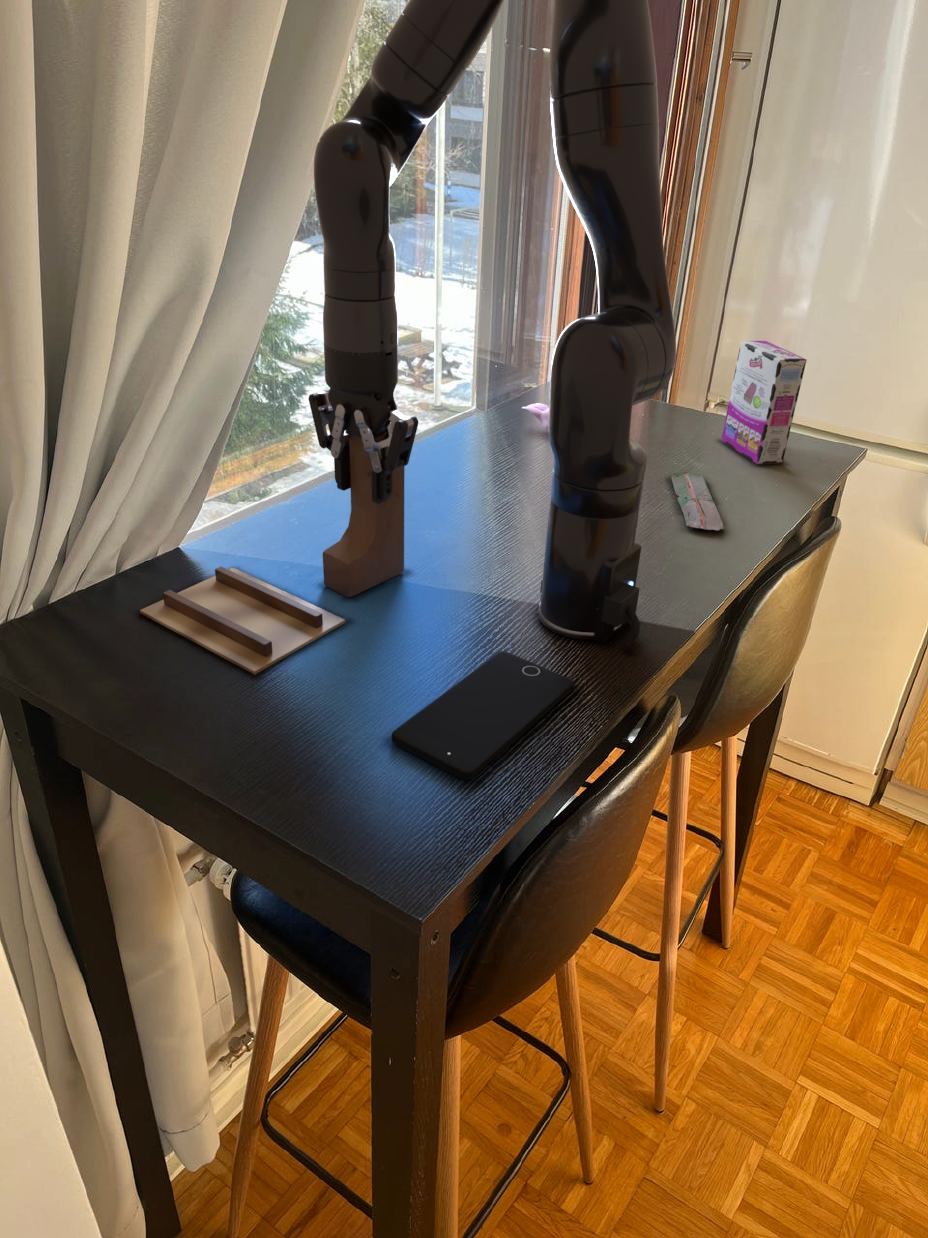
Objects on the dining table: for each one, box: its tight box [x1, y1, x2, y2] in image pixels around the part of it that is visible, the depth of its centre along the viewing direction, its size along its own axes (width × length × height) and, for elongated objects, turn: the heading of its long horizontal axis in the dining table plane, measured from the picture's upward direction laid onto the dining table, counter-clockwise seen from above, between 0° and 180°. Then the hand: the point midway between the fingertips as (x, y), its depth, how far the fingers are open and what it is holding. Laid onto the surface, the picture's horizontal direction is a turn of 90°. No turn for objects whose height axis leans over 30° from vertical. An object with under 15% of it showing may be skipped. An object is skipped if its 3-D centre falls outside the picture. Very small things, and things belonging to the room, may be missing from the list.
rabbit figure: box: [521, 402, 549, 433], centre depth 153 cm, size 6×6×15 cm
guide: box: [139, 565, 346, 675], centre depth 102 cm, size 18×13×2 cm
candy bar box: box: [721, 340, 807, 466], centre depth 147 cm, size 11×5×16 cm, turn 17°
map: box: [670, 472, 724, 531], centre depth 133 cm, size 5×20×1 cm, turn 176°
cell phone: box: [391, 650, 576, 781], centre depth 89 cm, size 9×18×1 cm, turn 144°
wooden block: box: [322, 423, 405, 598], centre depth 106 cm, size 9×4×18 cm, turn 139°
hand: (363, 493), depth 105 cm, fingers closed on wooden block, 4 cm apart
